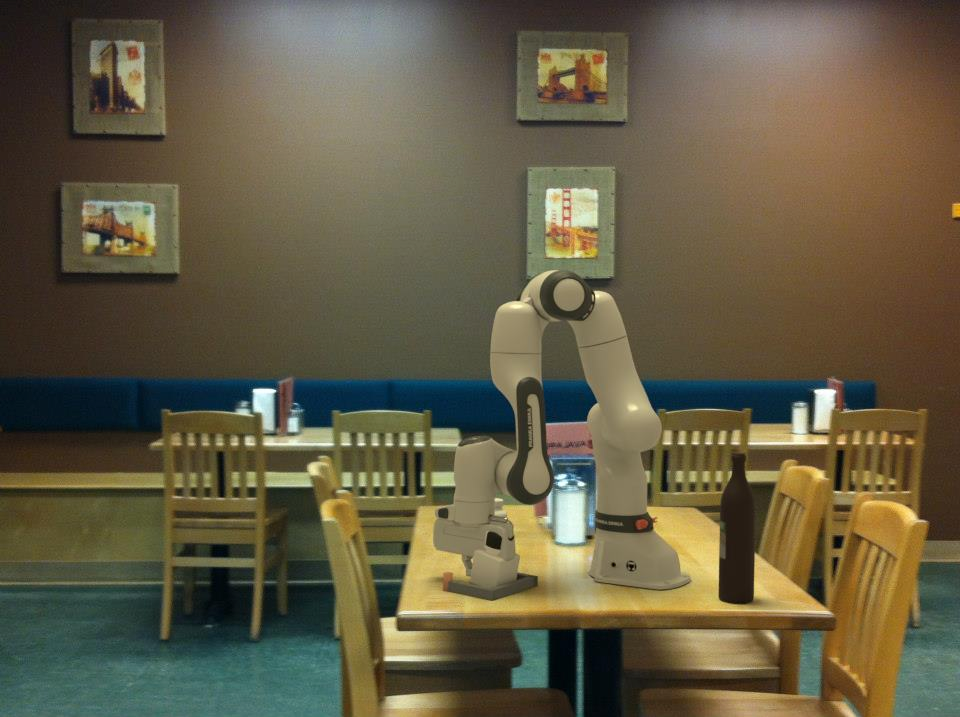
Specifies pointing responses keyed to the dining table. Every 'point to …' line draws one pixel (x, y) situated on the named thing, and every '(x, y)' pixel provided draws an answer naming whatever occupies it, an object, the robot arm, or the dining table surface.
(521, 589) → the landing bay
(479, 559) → the medicine bottle
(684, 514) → the dining table surface
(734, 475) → the wine bottle
